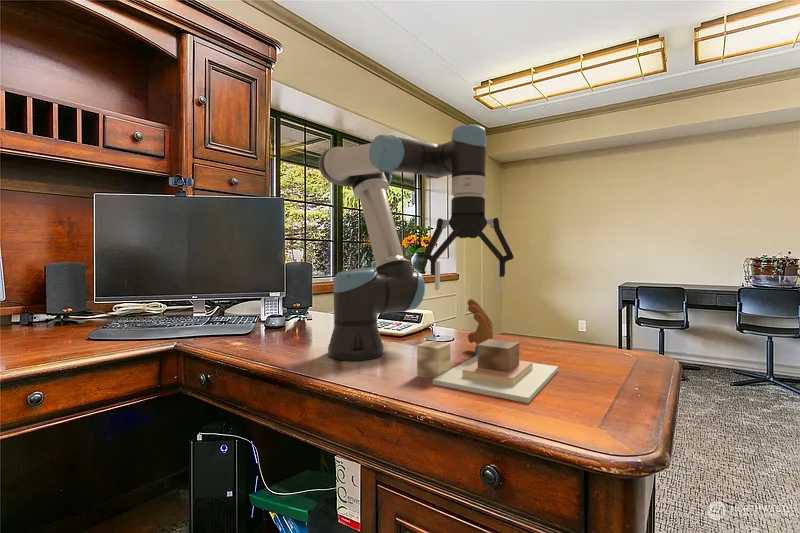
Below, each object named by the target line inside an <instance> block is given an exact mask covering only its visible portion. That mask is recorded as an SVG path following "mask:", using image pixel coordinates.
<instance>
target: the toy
mask: <svg viewBox="0 0 800 533" xmlns="http://www.w3.org/2000/svg"><path fill="white" fill-rule="evenodd" d="M467 305H468V308H467V310H468V311H469V312H470V313H472V315H473V319H474V320H475V322H477V327H476V329H475V331H472V332H469V333H468V334H467V339H468V342H469V343H470V344H472V343H475V345H476V346H475V347H474V354H475V355H474V356H476V355H478V344H480V343H482V342H484V341H486V340H488V339H494V333H493V332H494V331H493V330H494V326H493V321H492V320H491V319H490V317H489V316H488V315H487V313H486V312H485V310H484V309H483V307H482V306H481V305H480V304H479V303H478V302H477V301H476V300H474V299H473V298H471V299H470V298H469V299H468V300H467Z"/></svg>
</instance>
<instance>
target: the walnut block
mask: <svg viewBox="0 0 800 533" xmlns="http://www.w3.org/2000/svg"><path fill="white" fill-rule="evenodd" d="M477 346H478V368H484V369H491V370H497V371H503V372H510V371H511V370H513V369H514V368H515V367H517V366H518V365H519V360H520V342H519V341H510V340H501V339H495V338H493V339H488V340H486V341H484V342H482V343H480V344H478V345H477Z"/></svg>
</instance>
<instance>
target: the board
mask: <svg viewBox="0 0 800 533" xmlns="http://www.w3.org/2000/svg"><path fill="white" fill-rule="evenodd" d="M558 372H559V366H557V365H550V364H545V363H537V362H532V361H527V360H526V361H525V360H520V359H519V365H518V366H517V367H515V368H514V369H513V370H511V371H510V372H503V371H497V370H491V369H484V368H478V355H474V356H473V357H471V358H469V359H467V360H466V361H464V362H462V363H461V364H458V365H457V366H455V367H453V368H450V370H449V371H447V372H445V373H444V374H442V375H440V376H438V377H436V378H435V379H432V385H435V386H440V387H445V388H449V389H455V390H460V391H466V392H471V393H474V394H475V393H476V394H480V395H486V396H491V397H496V398H501V399H506V400H511V401H514V402H520V403H525V404H529V403H530V402H531V401H532V400H533V399H534V398H535V397H536V396H537V394H538V393H539V392H540V391H541V390H542V389H543V388H544V387H545V386H546V385H547V384H548V382H550V380H551V379H553V377H554V376H555V375H556V374H557V373H558Z"/></svg>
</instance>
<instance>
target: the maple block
mask: <svg viewBox="0 0 800 533" xmlns="http://www.w3.org/2000/svg"><path fill="white" fill-rule="evenodd" d="M416 362H417V363H416V368H417V369H416V373H417V374H416V376H417V377H421V378H427V379H432V380H433V379H435V378H436V377H438V376H440V375H442V374H444V373H445V372H447V371H449V370H451V343H447V342H442V341H441V342H440V341H436V340H435V341H434V340H427V341H424V342H422V343H420V344H417V345H416Z"/></svg>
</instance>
